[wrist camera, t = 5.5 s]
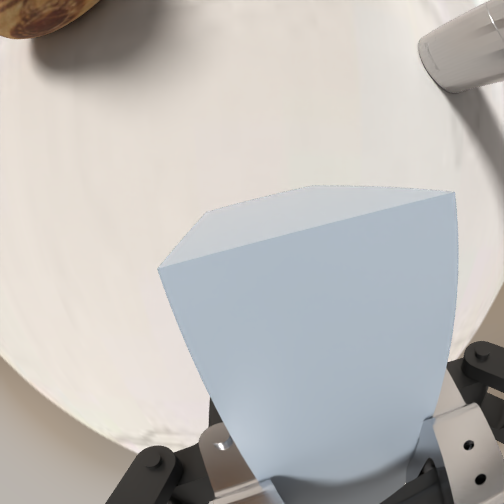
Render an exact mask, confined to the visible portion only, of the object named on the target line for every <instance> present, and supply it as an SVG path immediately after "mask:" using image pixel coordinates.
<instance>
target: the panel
mask: <svg viewBox="0 0 504 504" xmlns="http://www.w3.org/2000/svg"><path fill="white" fill-rule="evenodd" d="M157 270H158V272H159V275H160V278H161V281H162V284H163V287H164V289H165V292H166V295H167V298H168V300H169V303H170V306H171V308H172V311H173V313H174V316H175V318H176V321H177V323H178V326H179V328H180V331H181V333H182V336H183V338H184V340H185V343H186V345H187V347H188V350H189V352H190V354H191V357H192V359H193V361H194V363H195V366H196V368H197V370H198V372H199V374H200V376H201V379H202V381H203V383H204V385H205V387H206V389H207V391H208V393H209V395H210V397H211V399H212V401H213V403H214V405H215V407H216V409H217V411H218V413H219V415H220V417H221V419H222V421H223V422H224V424H225V426H226V428H227V430H228V432H229V434H230V435H231V437H232V439H233V441H234V442H235V444H236V446H237V448H238V449H239V451H240V453H241V455H242V456H243V458H244V460H245V461H246V463H247V465H248V466H249V468H250V469H251V471H252V473H253V474H254V476H255V477H256V479H257V481H258V482H259V481H263V480H266V479H270V480H271V482H272V483H273V485H274V487H275V488H276V490H277V492H278V493H279V495H280V497H281V498H282V500H283V502H284V503H285V504H380V503H381V502H382V501H384V500H385V499H387V498H388V497H389V496H391V495H392V494H393V493H395V492H396V491H397V490H399V489H400V488H401V487H403V486H404V484H405V482H406V468H407V466H408V463H409V461H410V459H412V458H413V455H414V453H415V450H416V447H417V445H418V442H419V434H420V431H421V428H422V424H423V421H425V420H427V419H429V418H431V417H433V414H434V411H435V408H436V405H437V402H438V398H439V395H440V391H441V387H442V383H443V379H444V375H445V371H446V366H447V361H448V356H449V351H450V346H451V340H452V333H453V326H454V319H455V310H456V299H457V285H458V223H457V209H456V198H455V192H450V191H440V190H427V189H414V188H397V187H375V186H326V185H315V186H308V187H304V188H299V189H295V190H290V191H286V192H282V193H278V194H273V195H269V196H265V197H261V198H257V199H253V200H249V201H245V202H241V203H238V204H234V205H230V206H226V207H222V208H219V209H215V210H211V211H208V212H206V213H205V214H204V215H203V216H202V217H201V218H200V219H199V220H198V222H197V223H196V224H195V225H194V226H193V227H192V228H191V230H190V231H189V232H188V233H187V234H186V235H185V236H184V238H183V239H182V240H181V241H180V242H179V243H178V245H177V246H176V247H175V248H174V249H173V250H172V252H171V253H170V254H169V255H168V256H167V257H166V259H165V260H164V261H163V262H162V263H161V265H160V266H159V267H158V268H157Z"/></svg>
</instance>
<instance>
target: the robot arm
mask: <svg viewBox="0 0 504 504" xmlns="http://www.w3.org/2000/svg"><path fill="white" fill-rule="evenodd" d="M418 49H419V54H420V57H421V60H422V62H423V64H424V66H425V68H426V69H427V71H428V73H429V74H430V75H431V77H432V78H433V79H434V80H435V81H436V82H437V84H439V85H440V86H441V87H442V88H443V89H445V90H446V91H448V92H451V93H458V92H462V91H465V90H469V89H473V88H477V87H481V86H485V85H489V84H493V83H497V82H501V81H504V0H489V1H488V2H486V3H483V4H481V5H479V6H477V7H475V8H473V9H471V10H469V11H468V12H466V13H464V14H462V15H460V16H458V17H456V18H455V19H453V20H451V21H449V22H447V23H446V24H444V25H442V26H440V27H439V28H437V29H435V30H433V31H432V32H430V33H428V34H427V35H425V36H424V37H422V38H421V39H420V41H419V44H418ZM488 387H492V388H494V389H496V390H499V391H501V392H503V393H504V348H503V347H500V346H498V345H495V344H492V343H489V342H485V341H478V342H474V343H472V344H470V345H469V346H468V347H467V348H466V350H465V353H464V357H463V358H461V359H457V360H454V361H451V362H447V366H446V371H445V375H444V379H443V383H442V387H441V391H440V395H439V398H438V402H437V405H436V408H435V411H434V414H433V417H431V418H429V419H427V420H425V421H423V424H422V428H421V431H420V434H419V442H418V445H417V447H416V450H415V453H414V455H413V458H412V459H410V461H409V463H408V466H407V468H406V484H405V485H404V486H403V487H401V488H400V489H399V490H397V491H396V492H395V493H393V494H392V495H391V496H389V497H388V498H387V499H385V500H384V501H382V502H381V503H380V504H504V459H503V456H502V454H501V451H500V449H499V447H498V444H497V442H496V440H497V441H499V442H501V443H503V444H504V400H503V399H500V398H498V397H496V396H494V395H492V394H489V393H487V390H488ZM212 500H213V504H285V503H284V502H283V500H282V498H281V497H280V495H279V493H278V492H277V490H276V488H275V487H274V485H273V483H272V482H271V480H270V479H266V480H263V481H259V482H258V481H257V479H256V477H255V476H254V474H253V473H252V471H251V469H250V468H249V466H248V465H247V463H246V461H245V460H244V458H243V456H242V455H241V453H240V451H239V449H238V448H237V446H236V444H235V442H234V441H233V439H232V437H231V435H230V434H229V432H228V430H227V428H226V426H225V424H224V422H223V421H222V419H221V417H220V415H219V413H218V411H217V409H216V407H215V405H214V403H213V401H212V399H211V397H210V407H209V427H208V428H207V429H206V430H205V431H204V432H203V433H202V434H201V436H200V438H199V442H198V443H197V444H195V445H193V446H191V447H188V448H185V449H183V450H180V451H177V452H174V453H173V452H172V451H171V450H170V449H169V448H167V447H164V446H151V447H148V448H146V449H144V450H142V451H141V452H140V453H139V454H138V455H137V456H136V458H135V460H134V461H133V462H132V464H131V466H130V467H129V469H128V470H127V472H126V473H125V475H124V476H123V478H122V479H121V481H120V482H119V484H118V485H117V487H116V488H115V490H114V491H113V493H112V494H111V496H110V497H109V499H108V500H107V502H106V503H105V504H208V503H209V501H212Z"/></svg>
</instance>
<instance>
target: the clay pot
mask: <svg viewBox="0 0 504 504" xmlns="http://www.w3.org/2000/svg"><path fill="white" fill-rule="evenodd" d="M99 1H100V0H0V36H3V37H6V38H10V39H28V38H35V37H39V36H43V35H46V34H49V33H51V32H54V31H56V30H58V29H60V28H62V27H64V26H66V25H67V24H69V23H71V22H72V21H74V20H75V19H77V18H78V17H80V16H81V15H83V14H84V13H85V12H87V11H88V10H89V9H90V8H92V7H93V6H94V5H95V4H96V3H97V2H99Z"/></svg>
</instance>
